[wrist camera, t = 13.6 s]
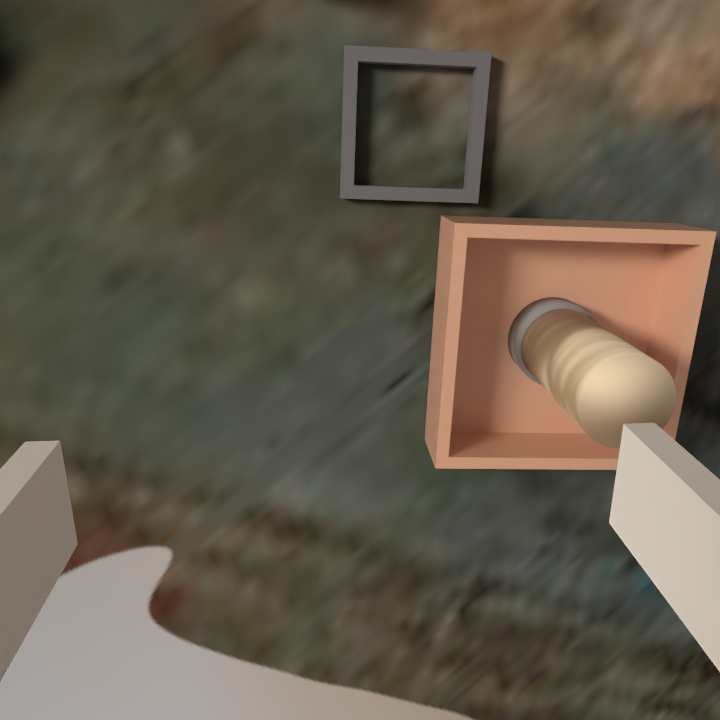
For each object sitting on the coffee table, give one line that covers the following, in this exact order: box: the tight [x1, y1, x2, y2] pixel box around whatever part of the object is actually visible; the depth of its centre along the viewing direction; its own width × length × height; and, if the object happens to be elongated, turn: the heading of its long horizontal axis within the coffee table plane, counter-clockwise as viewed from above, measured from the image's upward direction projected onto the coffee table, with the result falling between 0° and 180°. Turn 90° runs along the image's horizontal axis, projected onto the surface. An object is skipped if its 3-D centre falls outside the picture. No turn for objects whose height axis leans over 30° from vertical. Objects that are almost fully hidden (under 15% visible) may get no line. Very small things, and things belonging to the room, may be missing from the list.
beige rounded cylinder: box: [508, 297, 676, 449], centre depth 39 cm, size 6×6×12 cm
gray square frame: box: [340, 45, 492, 203], centre depth 40 cm, size 9×9×1 cm
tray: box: [425, 215, 716, 470], centre depth 43 cm, size 16×16×5 cm
